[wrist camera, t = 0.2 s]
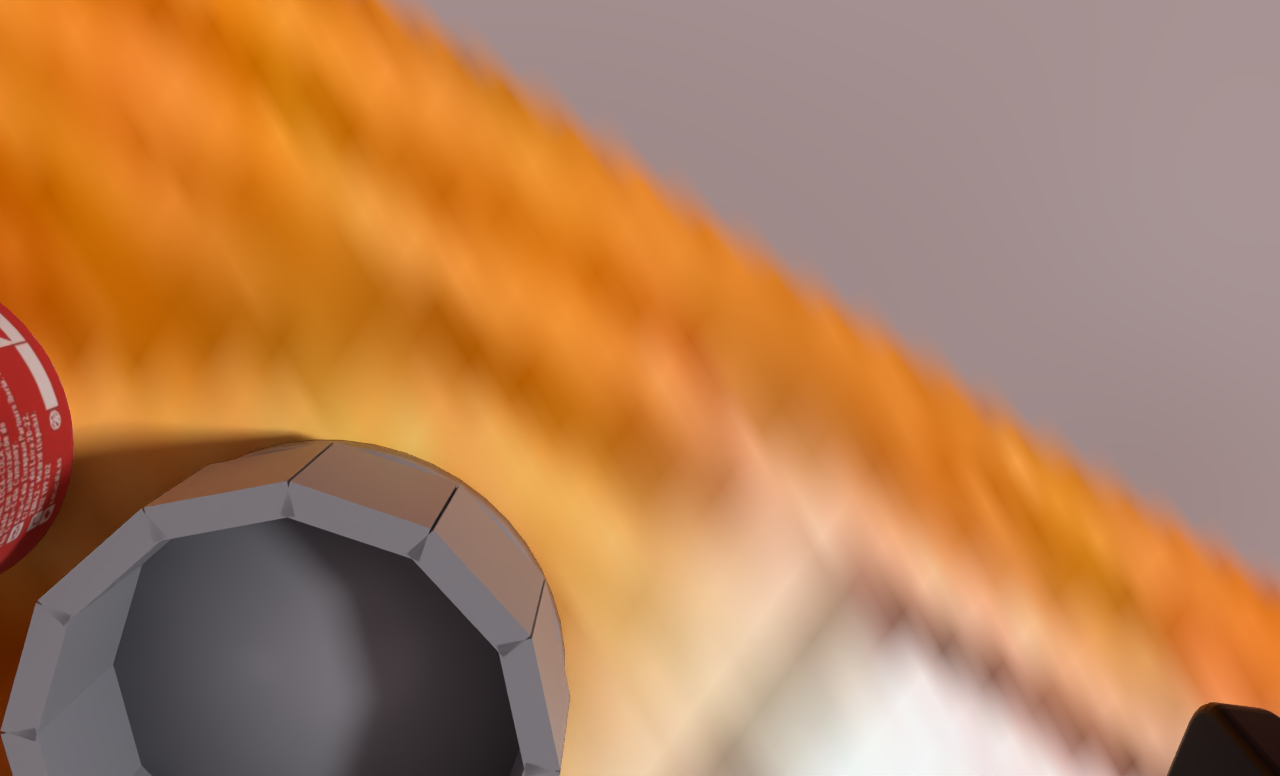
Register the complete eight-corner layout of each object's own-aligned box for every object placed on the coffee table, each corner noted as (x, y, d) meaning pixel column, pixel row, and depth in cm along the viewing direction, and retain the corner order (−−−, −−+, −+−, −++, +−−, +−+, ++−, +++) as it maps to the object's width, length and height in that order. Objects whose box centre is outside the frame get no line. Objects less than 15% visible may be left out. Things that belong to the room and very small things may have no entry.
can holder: (326, 954, 25) (272, 1089, 21) (12, 640, 24) (-104, 725, 20) (658, 685, 24) (662, 778, 20) (347, 343, 23) (291, 375, 19)
